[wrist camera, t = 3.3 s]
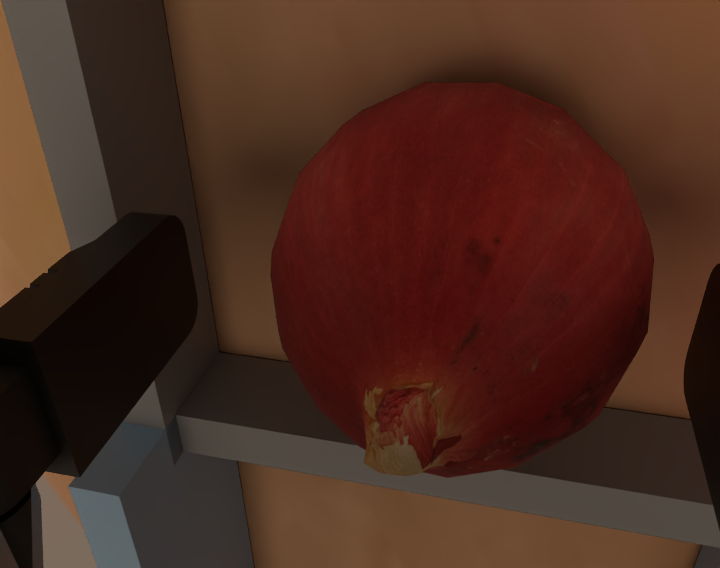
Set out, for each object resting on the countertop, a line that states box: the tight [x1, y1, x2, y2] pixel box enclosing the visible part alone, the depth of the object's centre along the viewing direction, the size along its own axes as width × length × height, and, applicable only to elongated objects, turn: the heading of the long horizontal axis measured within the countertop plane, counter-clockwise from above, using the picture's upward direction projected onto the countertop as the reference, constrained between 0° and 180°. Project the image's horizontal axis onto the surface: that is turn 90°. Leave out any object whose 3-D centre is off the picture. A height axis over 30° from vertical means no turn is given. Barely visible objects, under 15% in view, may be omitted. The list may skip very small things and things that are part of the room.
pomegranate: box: [271, 82, 654, 478], centre depth 10 cm, size 6×6×8 cm
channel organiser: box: [1, 0, 720, 568], centre depth 15 cm, size 15×25×5 cm, turn 1°
